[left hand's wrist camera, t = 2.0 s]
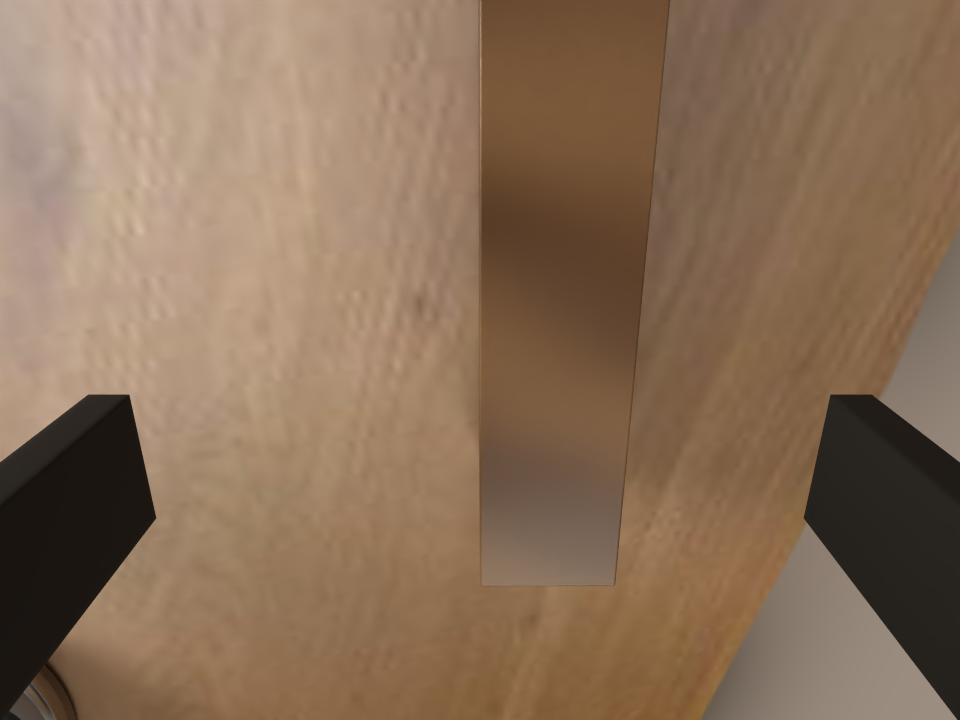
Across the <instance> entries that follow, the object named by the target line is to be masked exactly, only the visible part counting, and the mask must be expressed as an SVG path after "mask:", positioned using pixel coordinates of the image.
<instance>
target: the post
mask: <svg viewBox="0 0 960 720" xmlns="http://www.w3.org/2000/svg"><path fill="white" fill-rule="evenodd" d="M669 5H670V0H479V501H480V585H481V586H614V585H615V579H616V569H617V558H618V547H619V537H620V526H621V515H622V505H623V494H624V483H625V473H626V462H627V452H628V441H629V430H630V420H631V409H632V398H633V388H634V377H635V366H636V356H637V345H638V335H639V324H640V313H641V303H642V292H643V281H644V271H645V260H646V249H647V239H648V228H649V218H650V207H651V196H652V186H653V175H654V164H655V154H656V143H657V132H658V122H659V111H660V101H661V90H662V79H663V69H664V58H665V47H666V37H667V26H668V15H669Z"/></svg>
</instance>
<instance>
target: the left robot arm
mask: <svg viewBox="0 0 960 720" xmlns="http://www.w3.org/2000/svg"><path fill="white" fill-rule="evenodd" d="M155 519H156V515H155V510H154V506H153V501H152V497H151V492H150V487H149V483H148V478H147V474H146V469H145V464H144V460H143V455H142V451H141V446H140V441H139V437H138V432H137V428H136V423H135V418H134V414H133V409H132V405H131V400H130V396H129V395H87V396H86V397H85V398H83V399H82V400H81V401H79V402H78V403H77V404H76V405H74V406H73V407H72V408H70V409H69V410H68V411H66V412H65V413H64V414H63V415H61V416H60V417H59V418H57V419H56V420H55V421H53V422H52V423H51V424H50V425H48V426H47V427H46V428H44V429H43V430H42V431H40V432H39V433H38V434H37V435H35V436H34V437H33V438H31V439H30V440H29V441H27V442H26V443H25V444H24V445H22V446H21V447H20V448H18V449H17V450H16V451H14V452H13V453H12V454H11V455H9V456H8V457H7V458H5V459H4V460H3V461H1V462H0V720H76V717H75V713H74V710H73V707H72V704H71V702H70V700H69V698H68V696H67V694H66V692H65V691H64V689H63V687H62V686H61V684H60V683H59V681H58V680H57V679H56V677H55V676H54V675H53V673H52V672H51V671H50V670H49V669H48V668H47V667H46V666H45V663H46V662H47V661H48V659H49V658H50V657H51V656H52V654H53V653H54V652H55V650H56V649H57V648H58V646H59V645H60V644H61V642H62V641H63V640H64V638H65V637H66V636H67V635H68V633H69V632H70V631H71V629H72V628H73V627H74V625H75V624H76V623H77V621H78V620H79V619H80V618H81V616H82V615H83V614H84V612H85V611H86V610H87V608H88V607H89V606H90V604H91V603H92V602H93V600H94V599H95V598H96V597H97V595H98V594H99V593H100V591H101V590H102V589H103V587H104V586H105V585H106V583H107V582H108V581H109V579H110V578H111V577H112V576H113V574H114V573H115V572H116V570H117V569H118V568H119V566H120V565H121V564H122V562H123V561H124V560H125V558H126V557H127V556H128V555H129V553H130V552H131V551H132V549H133V548H134V547H135V545H136V544H137V543H138V541H139V540H140V539H141V537H142V536H143V535H144V534H145V532H146V531H147V530H148V528H149V527H150V526H151V524H152V523H153V522H154V520H155ZM804 519H805V520H806V522H807V523H808V524H809V526H810V527H811V528H812V530H813V531H814V532H815V534H816V535H817V536H818V537H819V539H820V540H821V541H822V543H823V544H824V545H825V547H826V548H827V549H828V551H829V552H830V553H831V555H832V556H833V557H834V558H835V560H836V561H837V562H838V564H839V565H840V566H841V568H842V569H843V570H844V572H845V573H846V574H847V576H848V577H849V578H850V579H851V581H852V582H853V583H854V585H855V586H856V587H857V589H858V590H859V591H860V593H861V594H862V595H863V597H864V598H865V599H866V600H867V602H868V603H869V604H870V606H871V607H872V608H873V610H874V611H875V612H876V614H877V615H878V616H879V618H880V619H881V620H882V621H883V623H884V624H885V625H886V627H887V628H888V629H889V631H890V632H891V633H892V634H893V636H894V637H895V638H896V640H897V641H898V642H899V644H900V645H901V646H902V648H903V649H904V650H905V652H906V653H907V654H908V656H909V657H910V658H911V659H912V661H913V662H914V663H915V665H916V666H917V667H918V669H919V670H920V671H921V673H922V674H923V675H924V676H925V678H926V679H927V680H928V682H929V683H930V684H931V686H932V687H933V688H934V690H935V691H936V692H937V694H938V695H939V696H940V698H941V699H942V700H943V701H944V703H945V704H946V705H947V707H948V708H949V709H950V711H951V712H952V713H953V715H954V716H955V717H956V719H957V720H960V462H958V461H957V460H956V459H955V458H953V457H952V456H951V455H949V454H948V453H947V452H946V451H944V450H943V449H942V448H940V447H939V446H938V445H936V444H935V443H934V442H933V441H931V440H930V439H929V438H927V437H926V436H925V435H923V434H922V433H921V432H920V431H918V430H917V429H915V428H914V427H913V426H912V425H910V424H909V423H908V422H907V421H905V420H904V419H903V418H901V417H900V416H899V415H897V414H896V413H895V412H893V411H892V410H891V409H890V408H888V407H887V406H886V405H884V404H883V403H882V402H880V401H879V400H878V399H877V398H875V397H874V396H873V395H831V396H830V400H829V405H828V409H827V414H826V418H825V423H824V428H823V432H822V437H821V441H820V446H819V451H818V455H817V460H816V464H815V469H814V474H813V478H812V483H811V487H810V492H809V497H808V501H807V506H806V510H805V515H804Z"/></svg>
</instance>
